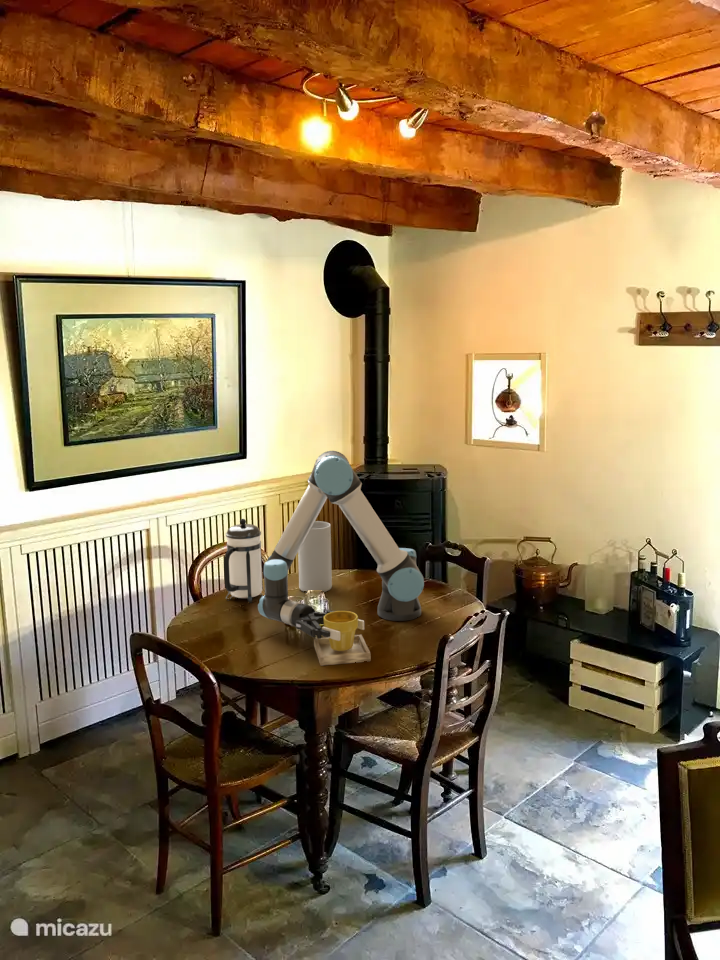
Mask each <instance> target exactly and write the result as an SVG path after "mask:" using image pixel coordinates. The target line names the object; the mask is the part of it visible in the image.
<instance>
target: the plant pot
mask: <svg viewBox="0 0 720 960" xmlns="http://www.w3.org/2000/svg"><path fill="white" fill-rule="evenodd" d="M333 611H334V612H330V613H328V614H326V615H325V616H324V624H323V627H327V628H330V629H334V630H337V631H340V641H337V640H334V639H331V638H329V642H330V646H331V648H332V649H333V650H336V651H346V650H349V649H351V648H352V646H353V641H354V636H355V635H356V630H358V619H359V616H358V614H357V613H355V612H353V611H349V610H333Z"/></svg>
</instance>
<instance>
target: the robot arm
mask: <svg viewBox="0 0 720 960" xmlns="http://www.w3.org/2000/svg"><path fill="white" fill-rule="evenodd" d="M307 483H308V485H307V487H306V489H305V491H304V492H303V494H302V496H301V498H300V501H299V502H298V504H297V506H296V508H295V510H294V512H293V513H292V515H291V517H290V519H289V521H288V523H287V524H286V527H285V528H284V531H283V532H282V534H281V536H280V538H279V540H278V542H277V543H276V546H275V547H274V549H273V551H272V553H271V555H270V556H268V558H267V560H266V561H265V562H264V564H263V571H262V574H263V579H264V581H263V582H264V591H265V592H264V594H265V595H264V596H263V595H261V597H260V598H259V603H258V604H257V610H258V613H259V614H260V616H262V617H265V618H267V619H269V620H273V621H277V622H280V623H283V624H286V625H290V626H291V627H295V628H296V630H299V631H302V632H303V633H305V634H307V635H308V636H310V637H311V638H313V639H314V638H319V639H320V638H326V637H328V638H331V639H334V640H337V641H340V631H337V630H334V629H330V628H327V627H324V626H322V627H321V625H324V616H325V615H326V614H328V613H330V612H334V611H335V610H330V609H326V608H325V609H324V608H323V612H320V611H316V610H314V608H313V607H312V606H311V605H308V604H305V603H302V602H298V601H295V600H291V599H289V585H288V584H289V582H288V579H289V570H290V568H291V566H292V564H293V562H294V560H295V559H296V557H297V556H298V555H297V554H298V551H299V549H300V547H301V545H302V544H303V542H304V540H305V538H306V536H307V534H308V533H309V531H310V529H311V527H312V525H313V523H314V522H315V521H316V520H317V518H318V516H319V514H320V512H321V510H322V509H323V507H324V504H325V503H326V501H327V499H328V501H329V502H330V503H331V504H334V505H337V506H338V507H339V509H340V510H341V511H342V513H343V515H344V516H345V518H346V519H347V520H348V522H349V523H350V525H351V526H352V528H353V530H355V532H356V534H357V535H358V537H359V538H360V540H361V541H362V543H363V545H364V546H365V548H367V550H368V552H369V553H370V554H371V556H372V558H373V559H374V561H375V562H376V564H377V568H376V572H377V574H378V575H379V577H380V578H381V580H382V581H381V587H382V592H381V594H380V598H379V601H378V605H377V615H378V617H380V618H382V619H384V620H387V621H393V622H401V621H403V622H405V621H411V620H416V619H417V617H418V618H419V617H420V616H421V615H422V606H421V603H420V600H419V597H420V595H421V594H422V592H423V589H424V588H425V587H424V586H425V579H424V576H423V574H422V572H421V571H420V569H419V567H418V566H417V552H416V550H415V549H413V548H406V547H399V546H398V544H397V543H396V542H395V540H394V538H393V537H392V535H391V534H390V532H389V531H388V529H387V528H386V527H385V525H384V523H383V522H382V519H380V517H379V516H378V514H377V513H376V511H375V510H374V509H373V507H372V505H371V503H370V502H369V500H368V499H367V497H366V496H365V495H364V493H363V491H362V490H361V489H362V485H363V483H362V481H361V480H360V479H359V476H358V475H357V474H356V472H355V471H354V469H353V468H352V466H351V464H350V462H349V459H348V458H347V457H346V456H345V455H344V454H343V453H342V452H340V451H338V450H327V451H325V452H323V453H321V454H320V455H319V456H318V457H317V458H316V460H315V463H314V465H313V468H312V471H311V473H310V475H309V477H308V479H307ZM357 630H361V631H364V630H365V620H363V619H359V618H358V628H357Z"/></svg>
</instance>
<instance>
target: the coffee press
mask: <svg viewBox="0 0 720 960" xmlns="http://www.w3.org/2000/svg"><path fill="white" fill-rule="evenodd" d="M261 535H262V531H261V530H260V528H259V527H258V526H257V525H255V524H250V523H247V521H246V519H245V518H241V519H240V520H239V524H234V525H232V526H230V527H229V528H228V529H227V531H226V532H225V537H226V552H225V555H224V558H223V577H224V586H225V587H224V588H225V590H226V591H227V592H228V593H227V594H226V596H225V599H226V600H227V599H228V597H229V595H231V596H230V597H229V598H230V600H232V598H236V599H237V598H238V599H247V603H248V602H249V603H248V604H253V598H254V597H257V596H259V595H262V591H263V592H264V593H265V590H264V587H263V564H262V563H263V562H262V542H261Z"/></svg>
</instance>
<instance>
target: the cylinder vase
mask: <svg viewBox="0 0 720 960" xmlns="http://www.w3.org/2000/svg"><path fill="white" fill-rule="evenodd" d="M331 528H332V527H331V523H329V522H327V521H320V520H317V521H316V520H315V522H314V523H313V525H312V527H311V529H310V531H309V533H308V534H307V536H306V538H305V540H304V542H303V544H302V545H301V547H300V549H299V551H298V553H297V554H298V555H297V557H298V559H297V560H298V587H299V590H301V591H302V592H304V591H308V590H322V591H324V592H323V593H325V592H327V591H330V590H331V589H332V587H333V580H332V579H333V578H332V576H333V575H332V540H331V539H332V537H331V536H332V535H331V534H332V533H331Z"/></svg>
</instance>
